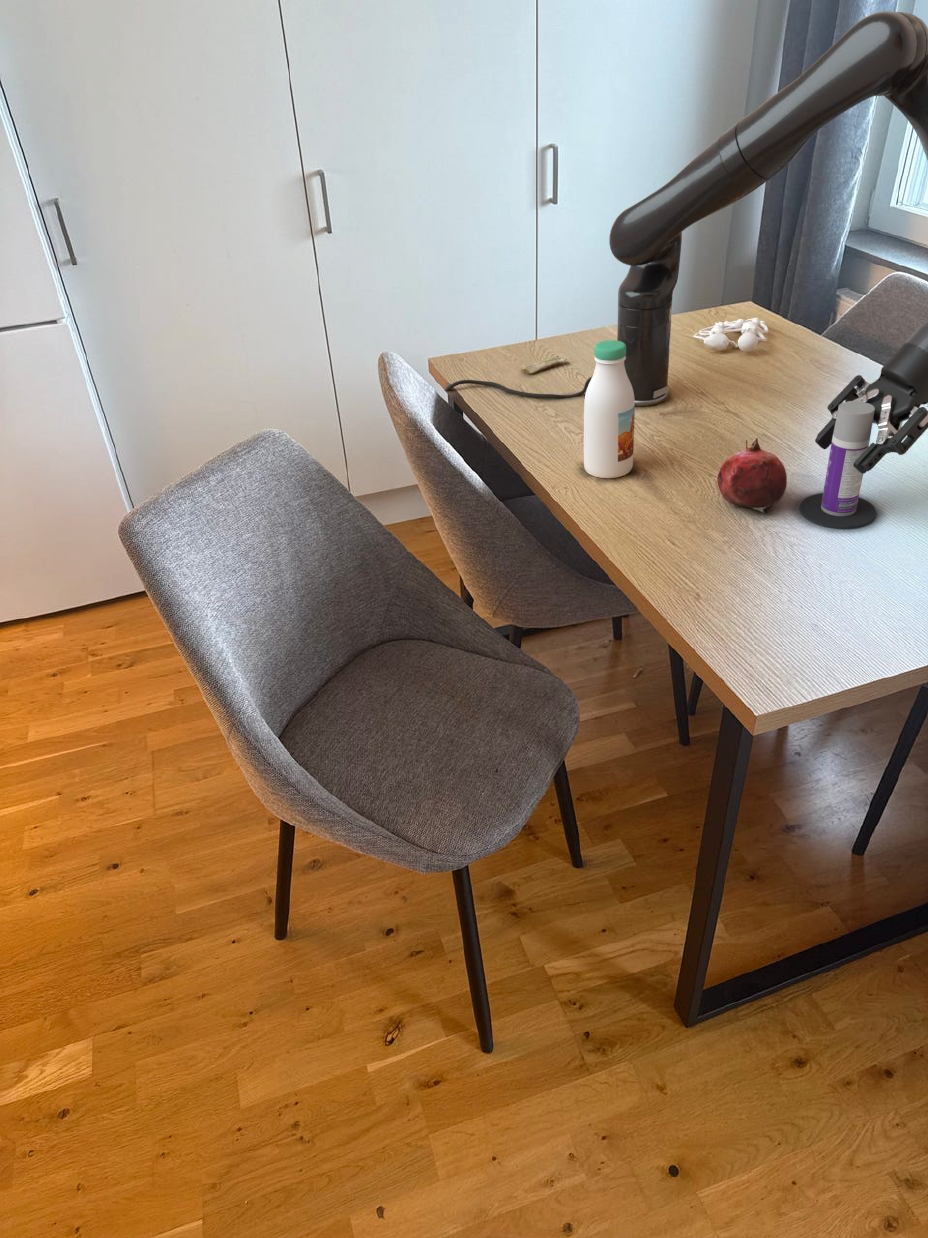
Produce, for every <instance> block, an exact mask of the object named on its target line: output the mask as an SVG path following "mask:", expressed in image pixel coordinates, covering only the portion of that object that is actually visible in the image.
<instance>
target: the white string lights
mask: <svg viewBox="0 0 928 1238" xmlns="http://www.w3.org/2000/svg"><path fill="white" fill-rule="evenodd" d="M762 328H763V329H762ZM736 332H740V333H741V335H740V336H739V338H738V341H737V343H736V342H735V341H734V340H731V339H730V338H729V337H728V336H727V335H726V334H728V333H729V334H731V333H736ZM768 333H769V328H768V326H767V323H766V321H764V320H760V318H759V317H753V318H748V319H743V318H739V319H737V320H734V321H733V320H732V321H728V320H724V322H723V321H715V323H714V325H711V326H708V327H705V328H702V329H699V331H698V332H696V333H695V334H693V338H695V339H699V340H702V341H703V344H704V345H705V346H706V347H709V348H712V349H713V350H714V351H718V352H720V351H721V352H722V351H724V350H727V348H728V347H729V344H731V346H734V348H735V349H738V348H739V350H740V351H742V352H744V353H751V352H753V351H755V350H756V349H757V347H758V344H759V342H760V343H761V342H762V343H767V342H768V339H767V338H766V337H765V336H764V335H767V334H768ZM703 336H705V337H703Z"/></svg>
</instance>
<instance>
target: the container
mask: <svg viewBox="0 0 928 1238" xmlns="http://www.w3.org/2000/svg"><path fill="white" fill-rule="evenodd" d="M874 411H875V407H874V406H873V405H871V404H869V403H866V402H861V401H848V402H845V401H843V403H841V404H840V405H839V407H838V412H837V417H836V423H835V428H834V433H833V438H832V443H831V445H830V449H829V455H828V460H827V461H828V462H827V468H826V474H825V479H824V486H823V490H822V493H823V497H822V503H821V509H822V510H823V511H824V512H826V513H828V514H830V515H834V516H849V515H852V514H854V513H855V512H856V508H857V504H858V498H859V497H860V493H861V488H862V483H863V478H864V474H862V473H860V472H859V471H858V470H857V469H856V468H855V467H854V466H853V464H854V462H855V461H856V460H857V459H858V458H859V457H860V456H861V454H862V453H863V452H864V451H865V450H866V449H867V448H868V447H869V446H870V441H871V435H872V430H873V429H872V428H873V424H874V423H873V417H874Z"/></svg>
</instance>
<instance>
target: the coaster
mask: <svg viewBox="0 0 928 1238" xmlns="http://www.w3.org/2000/svg"><path fill="white" fill-rule="evenodd" d="M822 497H823V492H819V493H815V494H811V495H809V496H807V497H805V498H804V499H802V500H801V502H800V505H799V512H800V514H801V515H802V517H803V518H804V519H806V520H807V521H809V522H811V523H812V524H815V525H818V526H821V527H825V528H829V529H834V530H835V529H836V530H851V529H858V528H862V527H865V526H867V525H870V524H871V523H872V522H873V521H874V520H875V518H876V515H877V510H876V508H875V506H874V505H873V504H872V503H870V502H869V501H868V500H866V499H865V498H862V497H860V496H859V498H858V504H857V508H856V512H855V513H854V514H852V515H849V516H834V515H830V514H828V513H826V512H824V511H823V510H822V509H821V503H822Z"/></svg>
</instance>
